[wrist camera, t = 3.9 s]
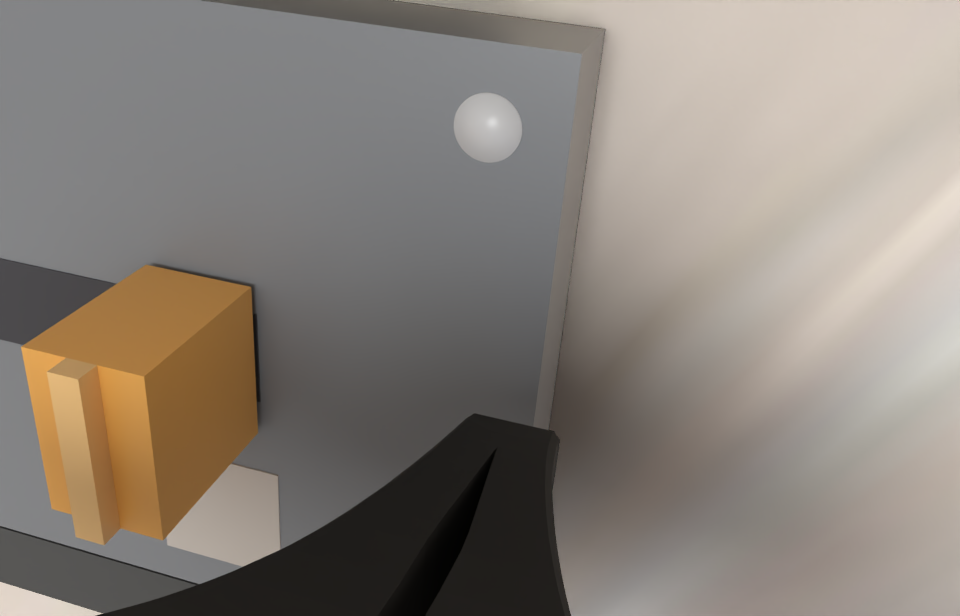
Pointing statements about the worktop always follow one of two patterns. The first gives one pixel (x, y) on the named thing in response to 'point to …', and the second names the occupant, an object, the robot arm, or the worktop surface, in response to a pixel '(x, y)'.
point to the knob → (143, 400)
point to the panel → (296, 229)
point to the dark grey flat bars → (79, 574)
